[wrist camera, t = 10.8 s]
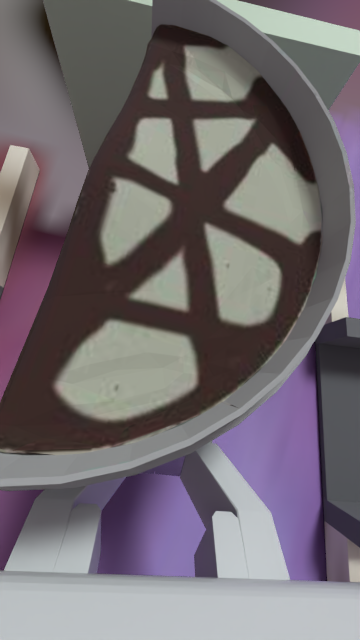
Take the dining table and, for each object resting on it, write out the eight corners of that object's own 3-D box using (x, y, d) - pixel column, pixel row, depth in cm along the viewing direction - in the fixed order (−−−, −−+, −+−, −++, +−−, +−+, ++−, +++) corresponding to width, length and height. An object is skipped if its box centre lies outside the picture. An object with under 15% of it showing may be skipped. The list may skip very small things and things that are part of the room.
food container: (206, 448, 13) (380, 630, 3) (88, 420, 13) (-109, 530, 3) (245, 243, 16) (384, 37, 7) (152, 217, 16) (158, -40, 6)
